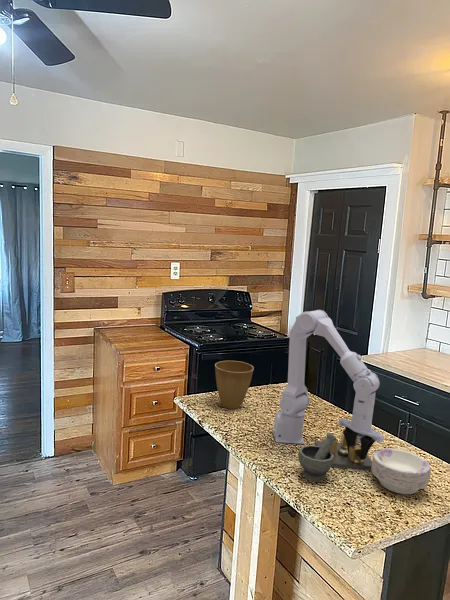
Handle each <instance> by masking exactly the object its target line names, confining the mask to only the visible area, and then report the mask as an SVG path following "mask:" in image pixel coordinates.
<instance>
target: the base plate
mask: <svg viewBox="0 0 450 600" xmlns="http://www.w3.org/2000/svg"><path fill="white" fill-rule="evenodd" d="M321 442H322V440H314V446H320V447H321ZM356 445H361V443H357V444H356ZM333 455H334V460H333V463H332V466H331V468H338V469H352V470H363V471H364V470H365V471H372V470H371V467H372V459H371V458H370V456H369V455H368V454H367V456H366V459H364V460H363V462H362V463H355V462H352V461H351V460H350V459H349V457H348V450H347V449H344V448H343V447H342V445H341V443H340V442H338V445H337V452H335V454H333Z"/></svg>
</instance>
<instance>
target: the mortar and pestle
mask: <svg viewBox="0 0 450 600" xmlns="http://www.w3.org/2000/svg"><path fill="white" fill-rule="evenodd" d="M335 439H337V437H336V436H335V435H334V434H332V433H330V432H327V434H326V439H325V440H324V442H323V444H322V445H321V447H320V446H315V445H314V444H313V445H312V444H308V445H305V446H301V447H300V449H299V450H298V462H299V465H300V466H301V468H302V469H303V470H302V476H303V477H304V478H305V479H307V480H308V481H312V482H318V483H319V482H322V481H324V480H325V478H326V476H325V475H326V474H328V473H329V471H331V470H330V469H331V468H332V467H331V466H332V463H333V460H334V455H333V453H332V452H331V451H330V448H331V446H332V444H333V441H334V440H335Z"/></svg>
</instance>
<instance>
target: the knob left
mask: <svg viewBox="0 0 450 600" xmlns="http://www.w3.org/2000/svg"><path fill="white" fill-rule="evenodd" d="M326 437H327V436H326ZM326 437H325V436H322V437H321V441H322V442H321V445H322V444H323V442H324V440H325V439H326ZM338 443H339V441H338V439H337V438H336V439H335V440H334V441H333V444H332V446H331V448H330V451H331V452H332V453H333V454H335V452H337V445H338Z"/></svg>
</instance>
